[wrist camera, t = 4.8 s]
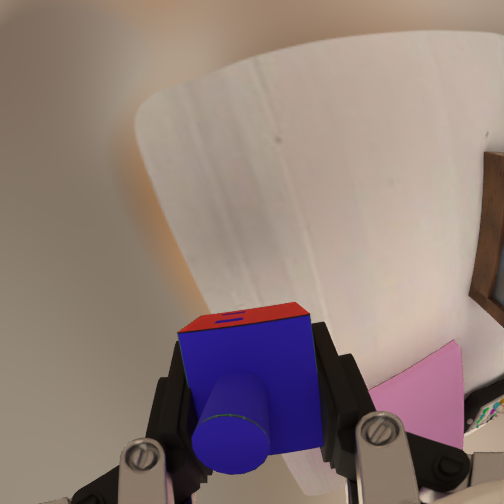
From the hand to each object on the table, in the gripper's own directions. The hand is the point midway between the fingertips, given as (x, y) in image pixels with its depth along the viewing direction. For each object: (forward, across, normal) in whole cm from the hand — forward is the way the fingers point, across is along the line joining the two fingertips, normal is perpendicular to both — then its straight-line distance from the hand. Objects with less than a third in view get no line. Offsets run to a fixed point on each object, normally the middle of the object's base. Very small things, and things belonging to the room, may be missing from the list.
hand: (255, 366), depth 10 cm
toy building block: (+2, 0, 0) cm, 2 cm away
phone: (+14, -36, +34) cm, 51 cm away
